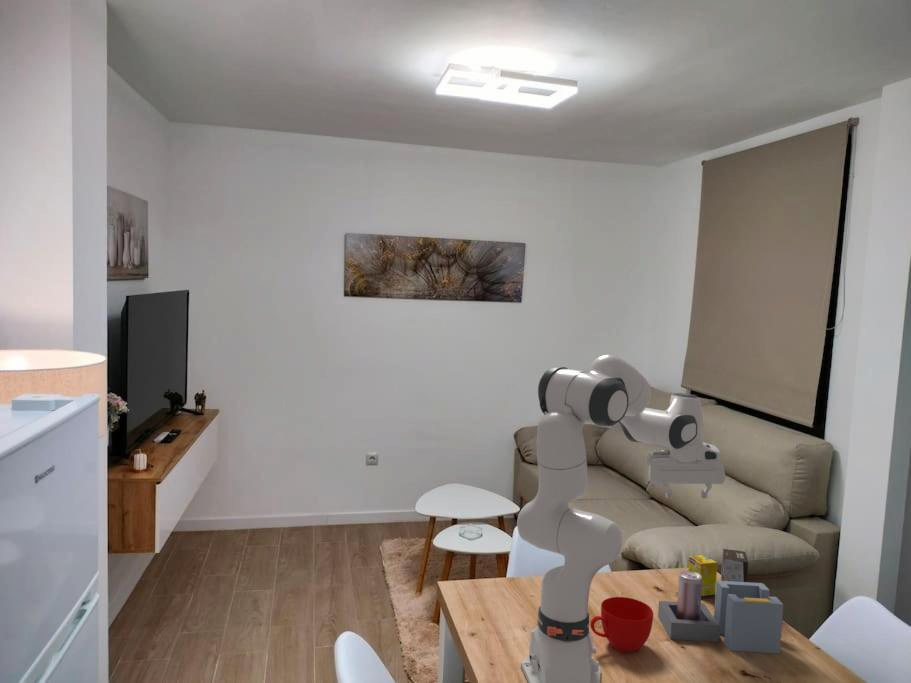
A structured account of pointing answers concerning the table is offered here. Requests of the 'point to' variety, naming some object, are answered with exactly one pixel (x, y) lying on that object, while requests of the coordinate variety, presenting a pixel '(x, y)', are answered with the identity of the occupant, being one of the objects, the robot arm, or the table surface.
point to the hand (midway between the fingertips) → (686, 497)
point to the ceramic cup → (624, 623)
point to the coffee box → (734, 566)
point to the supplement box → (705, 573)
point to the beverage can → (689, 596)
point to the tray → (688, 624)
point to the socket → (748, 617)
